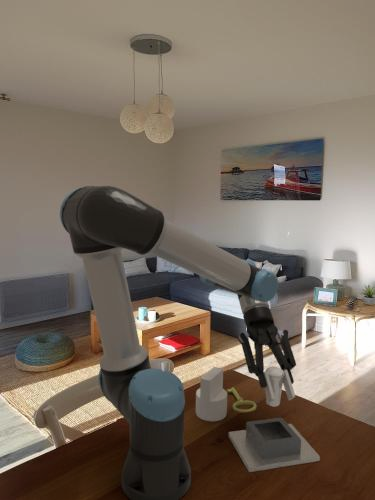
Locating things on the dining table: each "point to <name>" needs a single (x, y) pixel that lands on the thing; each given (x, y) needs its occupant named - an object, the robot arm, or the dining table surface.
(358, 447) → the dining table surface
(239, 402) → the key
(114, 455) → the dining table surface
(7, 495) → the dining table surface
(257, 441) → the holder
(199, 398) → the base with upright slab
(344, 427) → the dining table surface
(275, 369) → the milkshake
